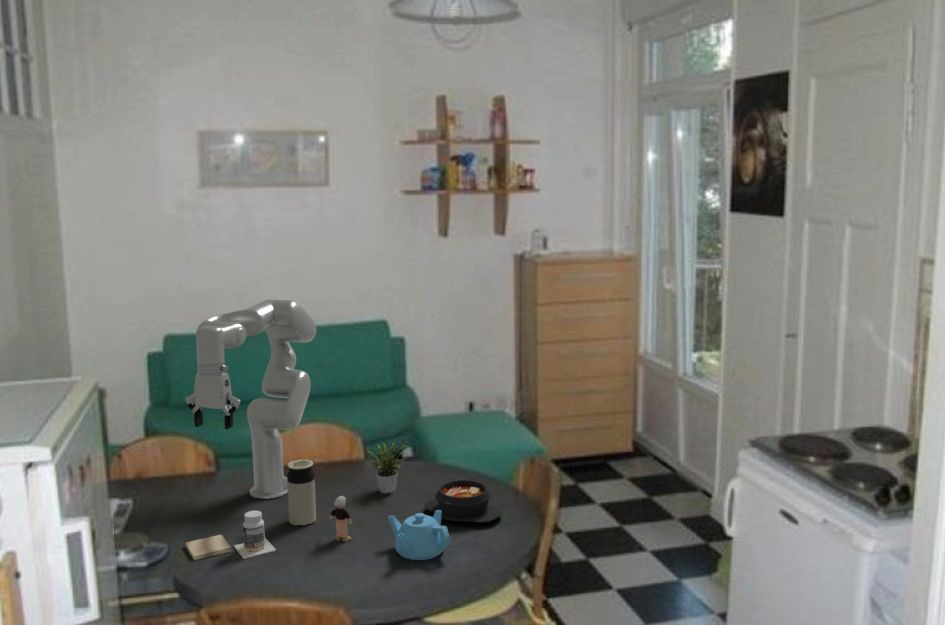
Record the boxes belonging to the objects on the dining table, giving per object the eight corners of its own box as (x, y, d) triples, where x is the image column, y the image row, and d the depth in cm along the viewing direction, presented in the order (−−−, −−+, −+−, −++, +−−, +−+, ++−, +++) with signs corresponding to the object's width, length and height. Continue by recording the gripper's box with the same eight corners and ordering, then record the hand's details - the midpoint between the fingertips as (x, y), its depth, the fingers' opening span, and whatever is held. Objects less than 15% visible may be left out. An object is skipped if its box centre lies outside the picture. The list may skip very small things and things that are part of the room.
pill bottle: (246, 543, 235) (244, 510, 233) (266, 542, 235) (265, 509, 233) (242, 552, 229) (240, 518, 227) (263, 551, 229) (261, 517, 228)
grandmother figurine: (357, 537, 239) (355, 495, 237) (350, 543, 235) (349, 500, 233) (333, 534, 241) (331, 492, 239) (326, 539, 238) (324, 497, 236)
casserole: (412, 516, 253) (411, 490, 252) (446, 496, 269) (446, 471, 267) (481, 535, 240) (481, 507, 239) (514, 512, 255) (514, 486, 254)
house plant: (421, 488, 276) (420, 441, 273) (395, 502, 264) (394, 453, 261) (387, 480, 283) (386, 434, 280) (361, 493, 272) (359, 445, 269)
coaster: (221, 538, 239) (221, 534, 239) (231, 551, 231) (231, 547, 231) (185, 546, 234) (185, 542, 234) (194, 560, 226) (194, 556, 225)
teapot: (396, 567, 221) (395, 528, 219) (388, 543, 235) (387, 507, 233) (452, 560, 224) (452, 522, 222) (441, 537, 239) (440, 501, 237)
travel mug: (321, 518, 253) (319, 461, 250) (305, 528, 245) (303, 469, 243) (299, 514, 256) (297, 457, 253) (283, 523, 249) (280, 466, 246)
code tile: (265, 539, 238) (265, 537, 238) (275, 551, 231) (275, 549, 231) (234, 546, 234) (234, 545, 234) (243, 559, 226) (243, 557, 226)
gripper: (245, 367, 241) (247, 425, 243) (192, 365, 245) (194, 421, 248) (231, 373, 234) (233, 432, 236) (177, 370, 238) (179, 428, 240)
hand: (213, 426), depth 242 cm, fingers open, 9 cm apart
